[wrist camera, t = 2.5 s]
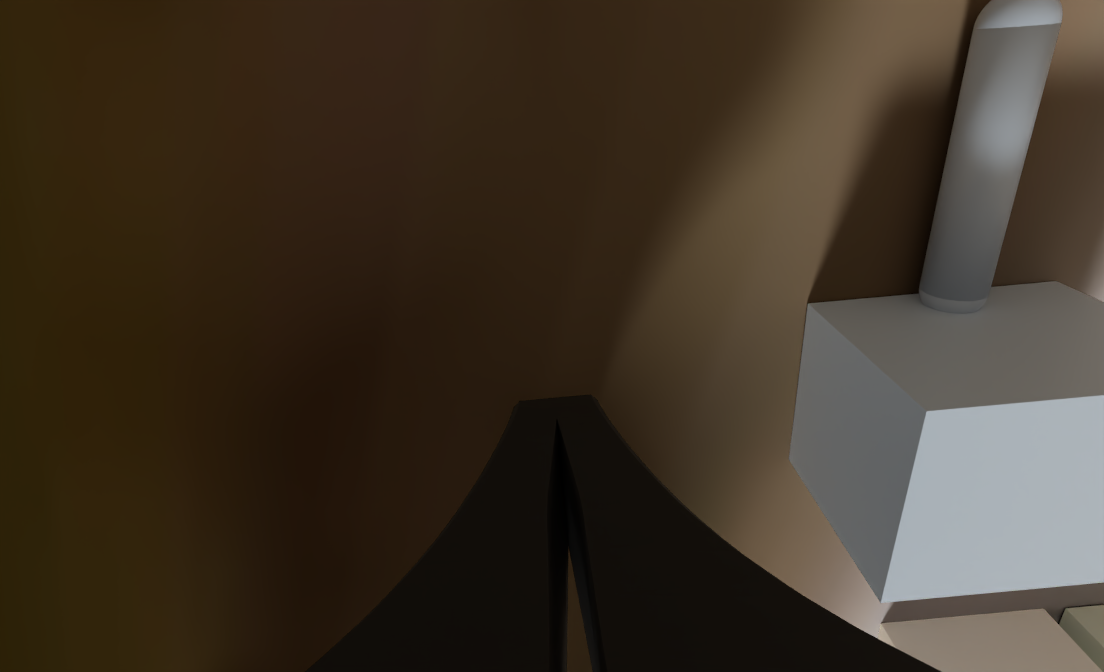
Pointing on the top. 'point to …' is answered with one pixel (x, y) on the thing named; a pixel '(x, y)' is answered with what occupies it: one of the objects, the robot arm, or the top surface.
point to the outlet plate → (1086, 630)
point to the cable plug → (964, 375)
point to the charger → (990, 643)
